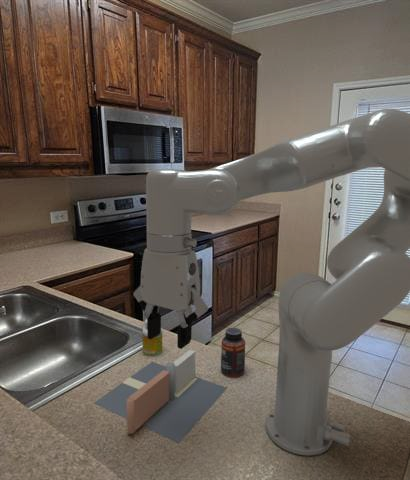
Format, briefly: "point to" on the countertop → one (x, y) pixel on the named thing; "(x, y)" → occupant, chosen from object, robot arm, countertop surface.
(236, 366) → the supplement bottle
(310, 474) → the countertop surface
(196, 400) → the board
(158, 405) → the fence panel
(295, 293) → the robot arm
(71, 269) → the countertop surface
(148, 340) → the supplement bottle
